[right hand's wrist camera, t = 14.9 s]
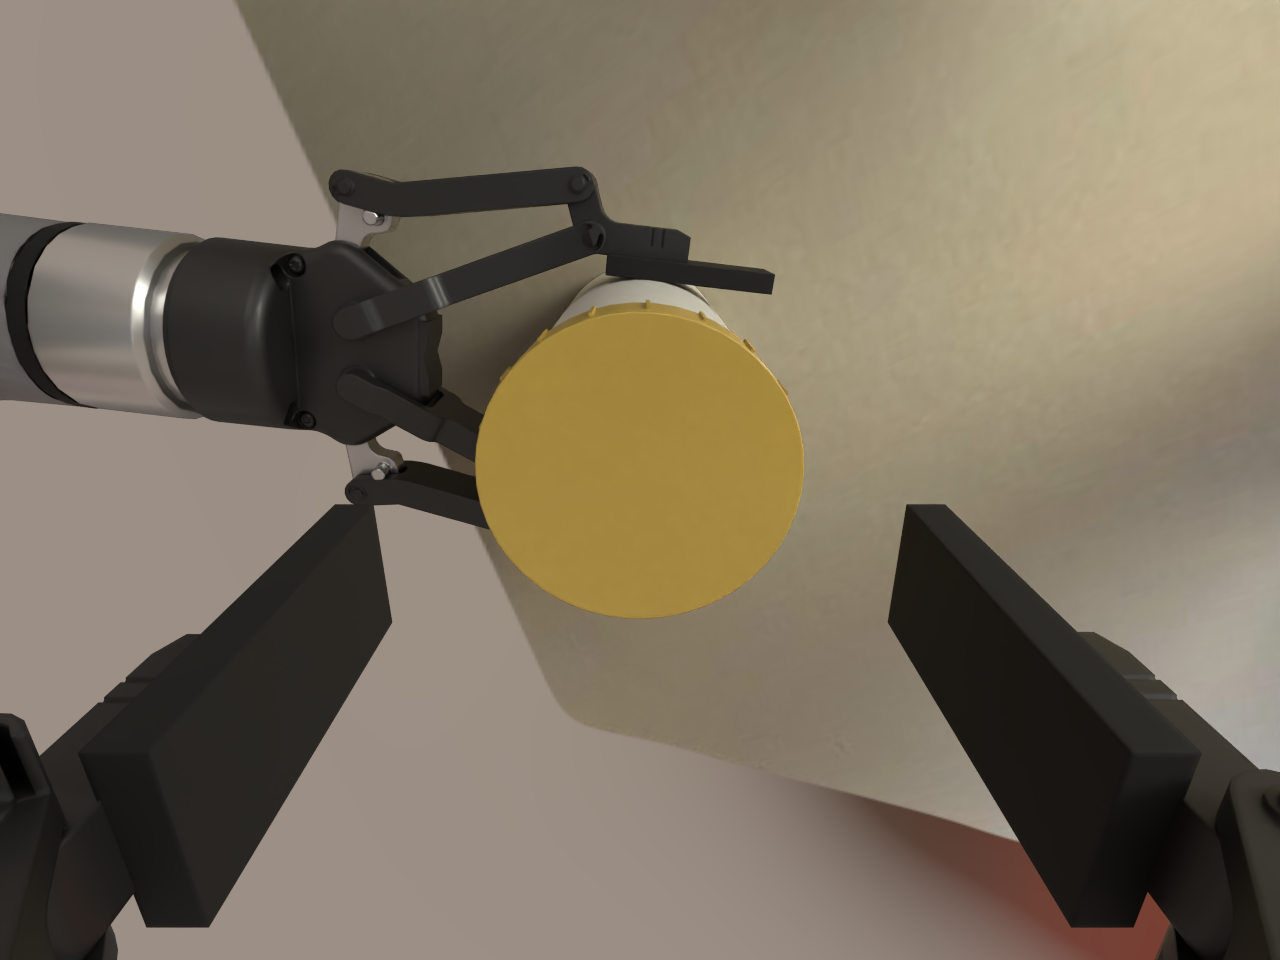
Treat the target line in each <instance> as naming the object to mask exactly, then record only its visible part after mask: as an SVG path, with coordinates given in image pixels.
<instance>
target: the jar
mask: <svg viewBox="0 0 1280 960" xmlns="http://www.w3.org/2000/svg"><path fill="white" fill-rule="evenodd" d="M646 299H648V300H650V303H658V304H665V305H671V306H676V307H679V308H683V309H686V310H689V311H693V312H696V313H698V314H699V312H700V311H701V312H703V313H704V314H705V316H706V317H707V318H709V319H711V320H713V321H715V322H717V323H718V324H720V325H722V326H723V327H725V328H726V329H728V328H727V327H726V326H725V324H724V323H723V322H722V320H721V319H720V318H719V316H718V315H717V314H716V312H715V311H714V309H713V308H712V307H711V305H710V304H709V303H708V301H707V300H706V299H705V297H704V296H703V295H702V294H701V293H700V291H699V290H698V289H697V288H696V287H695V286H693V285H684V284H676V283H667V282H659V281H651V280H641V279H633V278H624V277H616V276H607V275H606V272H605V273H603V274H601V275H600V276H598V277H596V278H595V279H593V280H592V281H591V282H589V283H588V284H587V285H586V286H585V287H584V288H583V289H582V290H581V291H580V292H579V293H578V294H577V296H576V297H575V298H574V300H573V301H572V302H571V304H570V305H569V306H568V308H567V309H566V310H565V312H564V313H563V314H562V316H561V317H560V318H559V320H558V321H557V322H556V324H555V325H554V326H553V328H554V327H556V326H557V325H559V324H561V323H563V322H564V321H566V320H568V319H570V318H572V317H574V316H577V315H579V314H581V313H584V312H586V311H589V310H590V309H591V307H592V306H596V308H600V307H604V306H608V305H613V304H622V303H631V302H640V303H646Z"/></svg>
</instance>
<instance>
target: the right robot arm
mask: <svg viewBox="0 0 1280 960" xmlns="http://www.w3.org/2000/svg"><path fill="white" fill-rule="evenodd" d="M391 624H392V618H391V612H390V605H389V599H388V593H387V586H386V580H385V574H384V568H383V562H382V555H381V549H380V543H379V536H378V530H377V524H376V518H375V511H374V505H373V504H349V505H348V504H339V505H338V504H335V505H334V506H333V507H332V508H331V509H330V510H329V511H328V512H327V513H326V514H325V515H324V516H323V517H321V518H320V519H319V520H318V521H317V522H316V523H315V524H314V525H313V526H312V527H311V528H310V529H309V530H308V531H307V532H306V533H305V534H304V535H303V536H302V537H301V538H300V539H299V540H298V541H297V542H296V543H295V544H293V545H292V546H291V547H290V548H289V549H288V550H287V551H286V552H285V553H284V554H283V555H282V556H281V557H280V558H279V559H278V560H277V561H276V562H275V563H274V564H273V565H272V566H271V567H270V568H269V569H268V570H267V571H266V572H264V573H263V574H262V575H261V576H260V577H259V578H258V579H257V580H256V581H255V582H254V583H253V584H252V585H251V586H250V587H249V588H248V589H247V590H246V591H245V592H244V593H243V594H242V595H241V596H240V597H239V598H238V599H237V600H236V601H234V602H233V603H232V604H231V605H230V606H229V607H228V608H227V609H226V610H225V611H224V612H223V613H222V614H221V615H220V616H219V617H218V618H217V619H216V620H215V621H214V622H213V623H212V624H211V625H210V626H209V627H207V628H206V629H205V630H204V631H203V632H202V633H201V634H186V635H185V636H183V637H181V638H179V639H178V640H176V641H174V642H172V643H170V644H169V645H167V646H165V647H163V648H162V649H160V650H158V651H156V652H155V653H153V654H151V655H150V656H149V657H148V658H147V659H146V660H145V661H144V662H143V663H141V664H140V665H139V666H138V667H137V668H136V669H135V670H134V671H133V672H132V673H130V674H129V675H128V676H127V677H126V681H125V682H121V683H119V684H118V685H117V686H116V687H115V688H114V689H113V690H112V691H111V692H110V693H108V694H107V695H106V696H105V697H104V702H103V703H97V704H96V705H95V706H94V707H93V708H92V709H91V710H90V711H89V712H88V713H86V714H85V715H84V716H83V717H82V718H81V719H80V720H79V721H78V722H77V723H75V724H74V725H73V726H72V727H71V728H70V729H69V730H68V731H67V732H66V733H64V734H63V735H62V736H61V737H60V738H59V739H58V740H57V741H56V742H55V743H53V744H52V745H51V746H50V747H49V748H48V749H47V750H46V751H45V752H44V753H42V754H41V755H40V756H39V754H38V752H37V750H36V747H35V745H34V742H33V740H32V738H31V735H30V733H29V731H28V728H27V726H26V724H25V721H24V720H22V719H20V718H18V717H17V716H15V715H13V714H4V713H0V960H117V954H118V948H117V943H116V938H115V934H114V932H113V929H112V927H111V923H112V922H113V921H114V919H115V918H116V917H117V915H118V914H119V913H120V911H121V910H122V908H123V907H124V906H125V904H126V903H127V902H128V900H129V899H130V898H131V896H132V895H133V894H134V897H135V899H136V902H137V904H138V907H139V910H140V912H141V915H142V917H143V920H144V922H145V925H146V927H209V926H210V925H211V923H212V921H213V920H214V918H215V916H216V915H217V913H218V911H219V910H220V908H221V906H222V905H223V903H224V901H225V900H226V898H227V896H228V895H229V893H230V891H231V890H232V888H233V886H234V885H235V883H236V881H237V880H238V878H239V876H240V875H241V873H242V871H243V870H244V868H245V866H246V865H247V863H248V861H249V860H250V858H251V856H252V855H253V853H254V851H255V850H256V848H257V846H258V845H259V843H260V841H261V840H262V838H263V836H264V835H265V833H266V831H267V830H268V828H269V826H270V825H271V823H272V821H273V820H274V818H275V816H276V815H277V813H278V811H279V810H280V808H281V806H282V805H283V803H284V802H285V800H286V798H287V797H288V795H289V793H290V791H291V790H292V788H293V787H294V785H295V783H296V782H297V780H298V778H299V777H300V775H301V773H302V772H303V770H304V768H305V767H306V765H307V763H308V762H309V760H310V758H311V757H312V755H313V753H314V752H315V750H316V748H317V747H318V745H319V743H320V742H321V740H322V738H323V737H324V735H325V733H326V732H327V730H328V728H329V727H330V725H331V723H332V722H333V720H334V718H335V717H336V715H337V713H338V712H339V710H340V708H341V707H342V705H343V703H344V702H345V700H346V698H347V697H348V695H349V693H350V692H351V690H352V688H353V687H354V685H355V683H356V682H357V680H358V678H359V677H360V675H361V673H362V672H363V670H364V668H365V667H366V665H367V663H368V662H369V660H370V658H371V657H372V655H373V653H374V652H375V650H376V648H377V647H378V645H379V643H380V642H381V640H382V638H383V637H384V635H385V634H386V632H387V630H388V629H389V627H390V625H391ZM888 624H889V625H890V627H891V629H892V630H893V632H894V634H895V635H896V637H897V638H898V640H899V642H900V643H901V645H902V647H903V648H904V650H905V652H906V653H907V655H908V657H909V658H910V660H911V662H912V663H913V665H914V667H915V668H916V670H917V672H918V673H919V675H920V677H921V678H922V680H923V682H924V683H925V685H926V687H927V688H928V690H929V692H930V693H931V695H932V697H933V698H934V700H935V702H936V703H937V705H938V707H939V708H940V710H941V712H942V713H943V715H944V717H945V718H946V720H947V722H948V723H949V725H950V727H951V728H952V730H953V732H954V733H955V735H956V737H957V738H958V740H959V742H960V743H961V745H962V747H963V748H964V750H965V752H966V753H967V755H968V757H969V758H970V760H971V762H972V763H973V765H974V767H975V768H976V770H977V772H978V773H979V775H980V777H981V778H982V780H983V782H984V783H985V785H986V787H987V788H988V790H989V792H990V793H991V795H992V797H993V798H994V800H995V802H996V803H997V805H998V807H999V808H1000V810H1001V812H1002V813H1003V815H1004V816H1005V818H1006V820H1007V821H1008V823H1009V825H1010V826H1011V828H1012V830H1013V831H1014V833H1015V835H1016V836H1017V838H1018V840H1019V841H1020V843H1021V845H1022V846H1023V848H1024V850H1025V851H1026V853H1027V855H1028V856H1029V858H1030V860H1031V861H1032V863H1033V865H1034V866H1035V868H1036V870H1037V871H1038V873H1039V875H1040V876H1041V878H1042V880H1043V881H1044V883H1045V885H1046V886H1047V888H1048V890H1049V891H1050V893H1051V895H1052V896H1053V898H1054V900H1055V901H1056V903H1057V905H1058V906H1059V908H1060V910H1061V911H1062V913H1063V915H1064V916H1065V918H1066V920H1067V921H1068V923H1069V925H1070V926H1071V927H1134V925H1135V922H1136V920H1137V917H1138V915H1139V912H1140V910H1141V907H1142V904H1143V902H1144V899H1145V897H1146V894H1147V892H1148V893H1149V894H1150V895H1151V897H1152V898H1153V899H1154V901H1155V902H1156V903H1157V905H1158V906H1159V907H1160V909H1161V910H1162V911H1163V913H1164V914H1165V915H1166V917H1167V918H1168V919H1169V921H1170V925H1169V927H1168V929H1167V932H1166V934H1165V936H1164V939H1163V941H1162V943H1161V946H1160V948H1159V951H1158V953H1157V955H1156V958H1155V960H1280V772H1276V771H1271V770H1267V769H1260V770H1259V769H1258V768H1257V767H1256V766H1255V765H1254V764H1253V763H1252V762H1250V761H1249V760H1248V759H1247V758H1246V757H1245V756H1244V755H1243V754H1242V753H1240V752H1239V751H1238V750H1237V749H1236V748H1235V747H1234V746H1233V745H1232V744H1230V743H1229V742H1228V741H1227V740H1226V739H1225V738H1224V737H1223V736H1222V735H1221V734H1219V733H1218V732H1217V731H1216V730H1215V729H1214V728H1213V727H1212V726H1211V725H1209V724H1208V723H1207V722H1206V721H1205V720H1204V719H1203V718H1202V717H1201V716H1199V715H1198V714H1197V713H1196V712H1195V711H1194V710H1193V709H1192V708H1191V707H1190V706H1188V705H1187V704H1186V703H1185V702H1184V701H1183V700H1178V699H1177V695H1176V694H1175V693H1174V692H1173V691H1172V690H1171V689H1170V688H1168V687H1167V686H1166V685H1165V684H1164V683H1163V682H1162V681H1161V680H1156V679H1155V675H1154V674H1153V673H1152V672H1151V671H1150V670H1149V669H1147V668H1146V667H1145V666H1144V665H1143V664H1142V663H1141V662H1140V661H1139V660H1137V659H1136V658H1135V657H1134V656H1133V655H1132V654H1131V653H1130V652H1128V651H1127V650H1125V649H1123V648H1121V647H1119V646H1118V645H1116V644H1114V643H1112V642H1111V641H1109V640H1107V639H1105V638H1104V637H1102V636H1100V635H1098V634H1097V633H1095V632H1077V631H1076V630H1075V629H1074V628H1073V627H1071V626H1070V625H1069V624H1068V623H1067V622H1066V621H1065V620H1064V619H1063V618H1062V617H1061V616H1060V615H1059V614H1058V613H1057V612H1056V611H1055V610H1054V609H1053V608H1052V607H1051V606H1050V605H1049V604H1048V603H1047V602H1046V601H1045V600H1044V599H1042V598H1041V597H1040V596H1039V595H1038V594H1037V593H1036V592H1035V591H1034V590H1033V589H1032V588H1031V587H1030V586H1029V585H1028V584H1027V583H1026V582H1025V581H1024V580H1023V579H1022V578H1021V577H1020V576H1019V575H1018V574H1017V573H1016V572H1014V571H1013V570H1012V569H1011V568H1010V567H1009V566H1008V565H1007V564H1006V563H1005V562H1004V561H1003V560H1002V559H1001V558H1000V557H999V556H998V555H997V554H996V553H995V552H994V551H993V550H992V549H991V548H990V547H989V546H988V545H987V544H985V543H984V542H983V541H982V540H981V539H980V538H979V537H978V536H977V535H976V534H975V533H974V532H973V531H972V530H971V529H970V528H969V527H968V526H967V525H966V524H965V523H964V522H963V521H962V520H961V519H960V518H959V517H957V516H956V515H955V514H954V513H953V512H952V511H951V510H950V509H949V508H948V507H947V506H946V505H945V504H907V505H906V511H905V517H904V524H903V530H902V536H901V542H900V549H899V555H898V561H897V568H896V574H895V580H894V586H893V593H892V599H891V605H890V611H889V618H888Z"/></svg>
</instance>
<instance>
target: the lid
mask: <svg viewBox="0 0 1280 960" xmlns="http://www.w3.org/2000/svg"><path fill="white" fill-rule="evenodd" d="M754 352H755V349H754V348H753V347H752V346H751V344H750V343H749V342H748V341H747V340H746V339H745V340H744V341H742V340H741V339H740V338H739V337H737V336H736V335H735V334H734V333H733V332H731V331H730V330H728V329H726V328H725V327H723V326H722V325H720V324H718V323H717V322H715V321H713V320H711V319H709V318H707V317H706V316H705V314H704V313H703V312H701V311H700V312H699V314H698V313H696V312H693V311H689V310H686V309H683V308H679V307H676V306H671V305H665V304H658V303H650V300H648V299H646V303H640V302H631V303H622V304H613V305H608V306H604V307H600V308H596V306H592V307H591V309H590V310H589V311H586V312H584V313H581V314H579V315H577V316H574V317H572V318H570V319H568V320H566V321H564V322H563V323H561V324H559V325H557V326H556V327H554V328H552V329H551V330H550V331H548V330H547V329H545V330H544V331H543V332H542V334H541V335H540V336H539V337H538V339H537V341H535V342H534V343H533V345H532V346H531V347H530V348H529V349H528V350H527V351H526V352H525V353H524V354H523V355H522V356H521V357H520V358H519V359H518V361H517V362H516V363H515V364H514V366H513V367H511V366H510V367H509V368H508V369H507V370H506V371H505V373H504V374H503V375H502V376H501V377H500V379H499V380H500V381H502V382H501V383H500V384H499V386H498V387H497V389H496V391H495V393H494V395H493V396H492V398H491V400H490V402H489V404H488V406H487V409H486V411H485V414H484V417H483V419H482V422H481V424H480V425H479V429H480V430H479V434H478V439H477V444H476V456H475V474H476V486H477V491H478V495H479V500H480V505H481V508H482V510H483V513H484V516H485V519H486V521H487V524H488V526H489V528H490V530H491V531H492V533H493V535H494V537H495V539H496V541H497V543H498V544H499V545H500V547H501V548H502V550H503V551H504V552H505V554H506V555H507V557H508V558H509V559H510V560H511V561H512V562H513V563H514V565H515V566H516V567H517V568H518V569H519V570H520V571H521V572H522V573H523V574H524V575H525V576H527V577H528V578H529V579H530V580H531V581H532V582H534V583H535V584H536V585H537V586H539V587H540V588H542V589H543V590H545V591H546V592H548V593H549V594H551V595H552V596H554V597H556V598H558V599H560V600H562V601H564V602H566V603H568V604H570V605H573V606H576V607H578V608H581V609H584V610H587V611H590V612H594V613H598V614H602V615H606V616H613V617H620V618H637V619H648V618H659V617H667V616H672V615H677V614H682V613H686V612H689V611H692V610H695V609H698V608H701V607H704V606H706V605H708V604H710V603H713V602H715V601H717V600H719V599H721V598H723V597H725V596H726V595H728V594H729V593H731V592H733V591H734V590H736V589H738V588H739V587H740V586H742V585H743V584H744V583H745V582H747V581H748V580H749V579H750V578H752V577H753V576H754V575H755V574H756V573H757V572H758V571H759V570H760V569H761V568H762V567H763V566H764V565H765V564H766V563H767V562H768V560H769V559H770V558H771V556H772V555H773V554H774V553H775V551H776V550H777V549H778V547H779V546H780V544H781V542H782V541H783V539H784V537H785V535H786V534H787V532H788V530H789V528H790V526H791V523H792V521H793V519H794V516H795V514H796V511H797V508H798V504H799V500H800V496H801V492H802V485H803V476H804V451H803V445H802V444H803V441H802V439H801V433H800V429H799V426H798V423H797V420H796V416H795V413H794V411H793V408H792V406H791V404H790V402H789V400H788V398H787V396H786V395H788V393H787V391H786V390H785V388H784V387H783V386H782V385H781V384H780V382H779V381H778V380H776V379H775V377H774V376H773V374H772V373H771V372H770V370H769V369H768V368H767V367H766V366H765V364H764V363H763V362H762V361H761V359H760V358H759V357H758V356H757V355H756V354H755V353H754Z"/></svg>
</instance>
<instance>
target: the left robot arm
mask: <svg viewBox="0 0 1280 960" xmlns="http://www.w3.org/2000/svg"><path fill="white" fill-rule="evenodd" d="M329 190H330V192H331V194H332V196H333V197H334V198H335V199H336V200H337V201H338V202H339V210H338V220H337V230H336V240H334V241H330V242H328V243H326V244H324V245H322V246H320V247H317V248H306V247H297V246H289V245H280V244H272V243H263V242H254V241H246V240H237V239H228V238H216V237H215V238H210V239H207V240H204V239H202V238H200V237H198V236H196V235H193V234H186V233H177V232H168V231H159V230H150V229H141V228H132V227H123V226H114V225H105V224H96V223H80V222H63V221H55V220H48V219H40V218H33V217H25V216H17V215H10V214H2V213H0V400H16V401H27V402H37V403H48V404H59V405H69V406H80V407H88V408H100V409H108V410H117V411H125V412H134V413H143V414H151V415H160V416H168V417H177V418H187V419H197V418H200V417H205V418H208V419H210V420H213V421H218V422H227V423H236V424H246V425H256V426H265V427H274V428H284V429H297V430H314V431H318V432H321V433H324V434H326V435H328V436H330V437H332V438H333V439H335V440H336V441H338V442H340V443H342V444H346V448H347V452H348V457H349V462H350V466H351V471H352V476H353V480H351V481H350V482H349V483H348V484H347V486H346V488H345V495H346V497H347V499H348V500H349V501H350V502H351V503H353V504H373V505H394V504H399V505H403V506H407V507H410V508H414V509H417V510H421V511H425V512H428V513H432V514H435V515H439V516H443V517H446V518H450V519H453V520H457V521H461V522H464V523H468V524H472V525H475V526H479V527H482V528H486V529H490V528H489V526H488V524H487V521H486V519H485V516H484V513H483V510H482V508H481V505H480V500H479V495H478V491H477V486H476V477H474V476H470V475H467V474H463V473H460V472H456V471H453V470H449V469H446V468H442V467H439V466H435V465H432V464H428V463H423V462H417V461H403V458H402V455H401V454H400V453H399V452H397V451H393V450H388V449H385V448H383V447H382V446H380V445H379V444H378V442H377V440H376V438H375V437H377V436H379V435H380V434H382V433H384V432H385V431H387V430H389V429H391V428H392V427H394V426H398V427H400V428H402V429H403V430H405V431H407V432H409V433H411V434H413V435H415V436H416V437H418V438H420V439H422V440H425V441H428V442H437V443H440V444H442V445H444V446H445V447H447V448H449V449H451V450H453V451H455V452H457V453H458V454H460V455H462V456H464V457H466V458H468V459H470V460H471V461H473V462H475V456H476V444H477V439H478V434H479V430H480V429H479V425H480V424H481V422H482V419H483V417H484V415H483V414H481V413H479V412H477V411H475V410H474V409H472V408H470V407H468V406H466V405H465V404H463V403H462V401H461V400H460V398H459V397H457V396H456V395H454V394H453V393H451V392H449V391H447V390H446V389H444V388H442V387H440V386H442V367H441V363H440V359H439V355H438V351H437V349H438V346H439V342H440V338H441V335H442V315H439V314H438V312H437V310H438V309H441V308H444V307H446V306H449V305H451V304H454V303H457V302H460V301H463V300H465V299H468V298H471V297H474V296H477V295H480V294H482V293H485V292H488V291H491V290H494V289H497V288H499V287H502V286H505V285H508V284H511V283H513V282H516V281H519V280H522V279H525V278H528V277H530V276H533V275H536V274H539V273H542V272H545V271H547V270H550V269H553V268H556V267H559V266H562V265H564V264H567V263H570V262H573V261H576V260H579V259H581V258H584V257H587V256H590V255H593V254H603V255H607V264H606V275H607V276H616V277H624V278H633V279H641V280H651V281H659V282H667V283H676V284H684V285H693V286H702V287H710V288H719V289H728V290H736V291H745V292H753V293H762V294H771V295H772V289H773V283H774V278H775V274H773V273H770V272H768V271H766V270H764V269H759V268H750V267H742V266H733V265H725V264H716V263H708V262H699V261H691V260H688V254H689V246H690V239H691V237H689V236H687V235H685V234H684V233H682V232H680V231H678V230H676V229H667V228H659V227H651V226H642V225H634V224H626V223H619V222H615V221H613V220H611V219H610V218H609V217H608V216H607V215H606V213H605V212H604V209H603V207H602V202H601V198H600V194H599V190H598V184H597V181H596V178H595V177H594V176H593V174H592V173H590V172H589V171H587V170H586V169H584V168H582V167H566V168H555V169H544V170H533V171H522V172H510V173H499V174H488V175H477V176H466V177H455V178H444V179H433V180H422V181H411V182H399V181H396V180H392V179H389V178H385V177H382V176H378V175H375V174H371V173H364V172H357V171H350V170H338V171H335V172H334V173H333V174H332V175H331V177H330V180H329ZM562 204H568V207H569V211H570V215H571V219H572V223H573V226H572V227H569V228H566V229H563V230H560V231H558V232H555V233H552V234H549V235H547V236H544V237H541V238H538V239H535V240H533V241H530V242H527V243H524V244H522V245H519V246H516V247H513V248H510V249H508V250H505V251H502V252H499V253H497V254H494V255H491V256H488V257H485V258H483V259H480V260H477V261H474V262H472V263H469V264H466V265H463V266H460V267H458V268H455V269H452V270H449V271H447V272H444V273H441V274H438V275H435V276H433V277H430V278H427V279H424V280H421V281H418V282H416V283H412V282H411V281H410V280H409V279H408V278H406V277H405V276H404V275H403V274H402V273H400V272H399V271H398V270H397V269H396V268H395V267H393V266H392V265H391V264H390V263H389V262H387V261H386V260H385V259H384V258H383V257H382V256H380V255H379V254H378V253H377V252H376V251H374V250H373V249H372V248H371V247H370V246H369V243H370V240H371V238H372V237H373V236H374V235H375V234H378V233H389V232H392V231H394V230H395V229H396V228H397V227H398V225H399V222H400V217H417V216H437V215H449V214H460V213H471V212H482V211H494V210H505V209H516V208H528V207H539V206H550V205H562Z"/></svg>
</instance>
